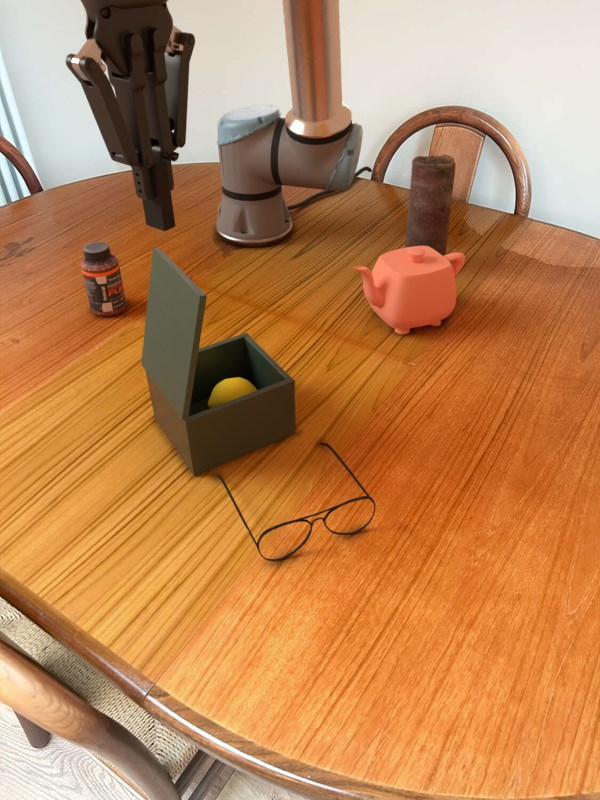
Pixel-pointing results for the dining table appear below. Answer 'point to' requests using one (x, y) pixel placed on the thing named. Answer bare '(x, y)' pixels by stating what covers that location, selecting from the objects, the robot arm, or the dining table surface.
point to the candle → (430, 202)
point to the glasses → (306, 516)
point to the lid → (172, 331)
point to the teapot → (412, 286)
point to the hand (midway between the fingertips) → (160, 225)
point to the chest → (229, 406)
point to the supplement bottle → (102, 280)
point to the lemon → (230, 391)
